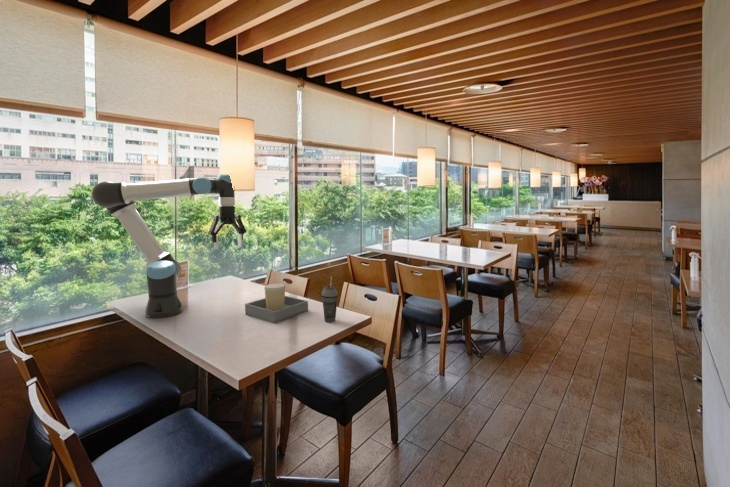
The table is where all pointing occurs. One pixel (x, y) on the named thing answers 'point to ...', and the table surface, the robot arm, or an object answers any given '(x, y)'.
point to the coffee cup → (275, 296)
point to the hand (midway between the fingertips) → (228, 247)
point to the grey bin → (290, 310)
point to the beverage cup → (329, 302)
